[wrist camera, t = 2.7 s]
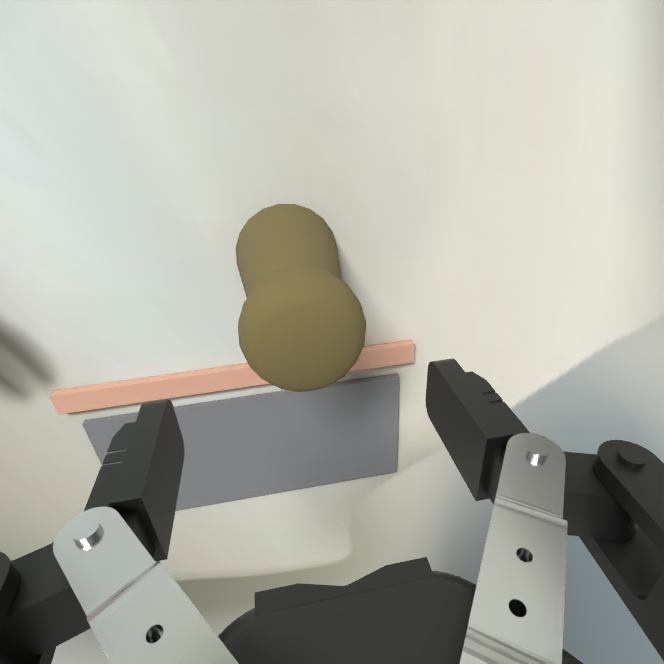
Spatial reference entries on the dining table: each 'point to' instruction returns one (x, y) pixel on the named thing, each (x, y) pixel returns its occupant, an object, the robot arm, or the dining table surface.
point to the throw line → (202, 381)
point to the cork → (296, 301)
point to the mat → (278, 440)
